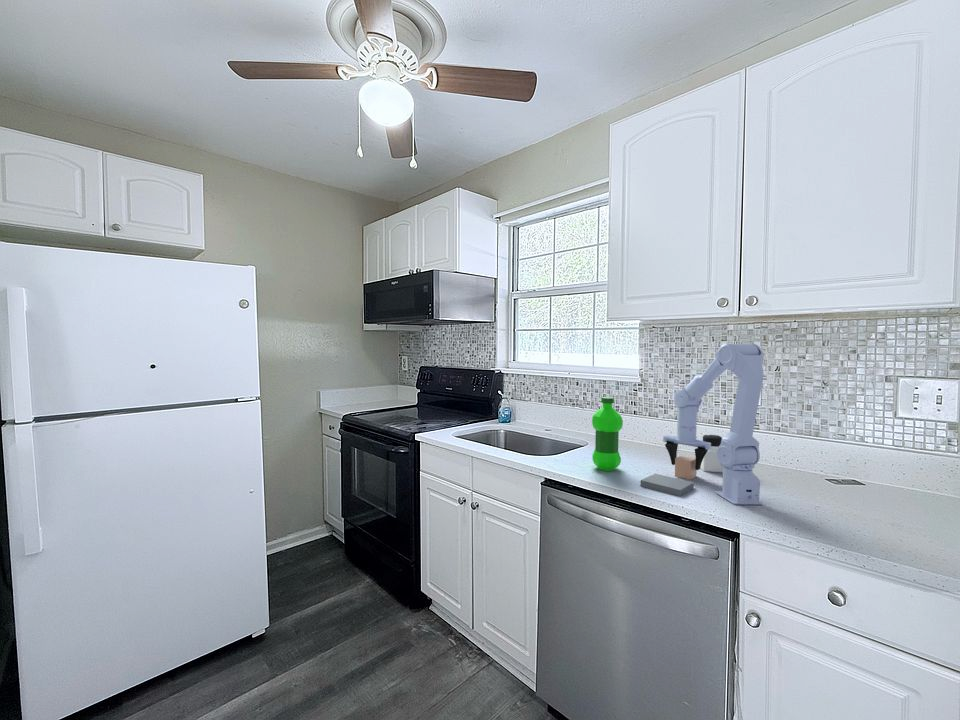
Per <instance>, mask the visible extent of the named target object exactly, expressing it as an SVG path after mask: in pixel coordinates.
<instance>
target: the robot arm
mask: <svg viewBox="0 0 960 720" xmlns="http://www.w3.org/2000/svg"><path fill="white" fill-rule="evenodd" d="M764 358H765V353H764V352H763V350H762V349H761V347H760V346H758V344H756V343H729V342H728V343H723V344H722V345H721V346H719V348H718V349H717V351H715V357H714V359H713V361H712V362H711V363H710V364H709V366H707V368H706V369H705V370H704V372H703V373H702V374H696V375H694V376H693V377H692V379H691V381H690V382H689V383H688V384H687V385H686V386H685V387H684V388H682V389H677V390H676V392H675V393H674V394H673V395H674V396H673V401H674V403H675V406H677V422H676V423H677V424H676V425H677V427H676V429H677V431H676V435H674V436H673V435H667V434H666V435H663V439H662V441H663V442H664V443H665V444H664V447H665V448H666V450H667V452H668V455H669V458H670V462H671V463H670V464H671V465H672V466H675V458H677V457H678V456H677V454H678V447H679V445H683V446H688V447H693V448H694V447H695V448H694V453H695V455H694V456H695V458H696V463H695V470H696V471H699V470H700V469H701V468H700V466H701V463H702V460H703V458H704V456H705V454H706V453H707V451H708V450H709V449H711V443H709V442H704V441H703V440H700V439H697V427H698V425H697V423H698V422H697V421H698V420H697V419H698V418H697V417H698V413H699V410H700V409H699V408H700V406H701V405H702V401H703V399H702V398H703V397H704V396H706V394H707V393H708V392H709V391H710V390H711V389H712V388H713V384H714V383H713V382H714V381H715V380H716V379H717V378H719V377H720V376H721V375H723V373H724V372H725V371H726V370H727V369H728V370H729V372H731V373H733V374H734V375H735V376H736V377H737V378H738V384H737V388H736V395H735V401H734V407H733V412H732V418H731V421H730V422H731V423H730V428H729V429H730V430H729V432H727V434H725V435H724V436H723V437H722V440H721V444H720V446H719V447H718V449H717V458H718V461H719V462H720V463H721V466H723V472H722V484H721V485H722V489H721V490H715V494H717V495H719V496H720V497H722V498H724V500H726V501H727V502H729V503H731V504H733V505H763V502H762V501H760V492H761V491H760V488H761V487H760V486H761V482H760V481H761V480H760V478H759V477H758V476H757V475H755V473H754V470H753V469H755V465H756V464H758V463H759V461H760V460H761V459H760V457H761V456H760V455H761V454H760V451H759V449H760V442H759V441H758V440H757V439H756V437H754V436H753V434H754V430H755V425H756V420H757V414H758V409H759V403H760V397H761V393H762V392H761V391H762V387H763V381H764V376H765V375H764V374H765V373H764V367H763V364H764Z"/></svg>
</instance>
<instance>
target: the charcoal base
mask: <svg viewBox="0 0 960 720" xmlns="http://www.w3.org/2000/svg"><path fill="white" fill-rule="evenodd" d="M694 486H695V482H693V481H690V480H686V479H680V478H677V477H671V476H667V475H664V474H658V473H653V474H651V475H649V476H647V477H644V478H642V479H641V480H640V487H643V488H647V489H650V490H651V489H652V490H655V491H659V492H662V493H667V494H670V495H674V496H678V497H681V496H683V495H685V494H687V493H688V492H690V491H691V490H694Z"/></svg>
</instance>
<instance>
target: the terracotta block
mask: <svg viewBox="0 0 960 720" xmlns="http://www.w3.org/2000/svg"><path fill="white" fill-rule="evenodd" d="M695 463H696V457H695V458H694V457H690V456H686V455H680V456H677V458H675V465H674V477H676V478H677V477H678V478H682V479H684V480H689V481H690V480H692V479H694V478H696V477H697V470H695Z"/></svg>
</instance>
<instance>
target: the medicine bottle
mask: <svg viewBox="0 0 960 720" xmlns="http://www.w3.org/2000/svg"><path fill="white" fill-rule="evenodd" d="M722 438H723V437H722V436H720V435H719V434H710V433H709V434H704V435H703V436H702V441H704V442H709V443H711V449H709V450H708V451H707V453H706V454H705V456H704V458H703V460H702V463H701V466H700V469H701V470H702V471H703V472H711V473H723V466H721V463H720V462H719V461H718V458H717V449H718V447H719V446H720V444H721V440H722Z"/></svg>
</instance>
